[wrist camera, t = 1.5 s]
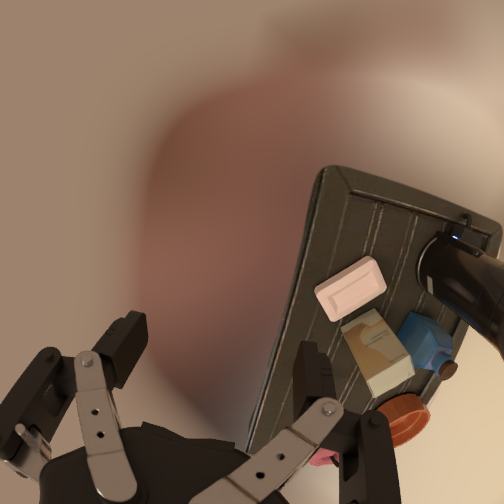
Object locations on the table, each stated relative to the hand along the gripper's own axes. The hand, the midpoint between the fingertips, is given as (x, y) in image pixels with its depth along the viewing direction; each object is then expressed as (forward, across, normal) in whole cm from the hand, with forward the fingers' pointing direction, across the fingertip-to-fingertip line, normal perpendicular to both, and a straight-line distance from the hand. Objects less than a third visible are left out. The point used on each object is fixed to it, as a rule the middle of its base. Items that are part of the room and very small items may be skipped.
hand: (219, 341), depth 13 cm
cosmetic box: (+23, -18, +14) cm, 32 cm away
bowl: (+22, -35, +36) cm, 55 cm away
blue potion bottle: (+24, -29, +15) cm, 40 cm away
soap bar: (+23, -14, +7) cm, 28 cm away
